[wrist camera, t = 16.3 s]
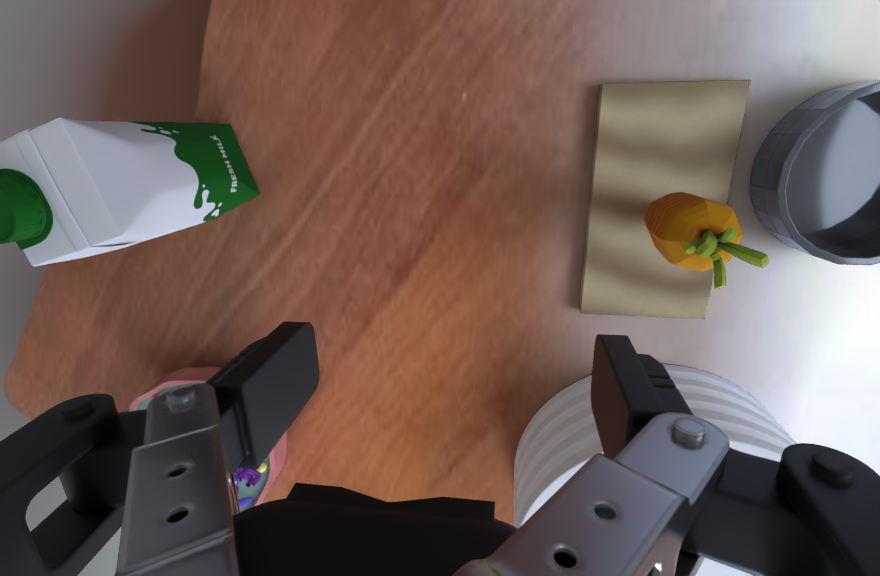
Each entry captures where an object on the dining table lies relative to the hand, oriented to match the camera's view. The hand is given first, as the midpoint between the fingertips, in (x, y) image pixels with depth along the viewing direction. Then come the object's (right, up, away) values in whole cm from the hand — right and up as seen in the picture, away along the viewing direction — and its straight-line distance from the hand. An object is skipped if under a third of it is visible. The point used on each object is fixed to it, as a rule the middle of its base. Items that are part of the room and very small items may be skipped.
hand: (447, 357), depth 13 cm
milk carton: (-22, +14, +33) cm, 42 cm away
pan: (+32, +11, +25) cm, 42 cm away
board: (+19, +9, +28) cm, 35 cm away
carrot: (+18, +9, +27) cm, 34 cm away
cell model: (-24, -13, +43) cm, 51 cm away
